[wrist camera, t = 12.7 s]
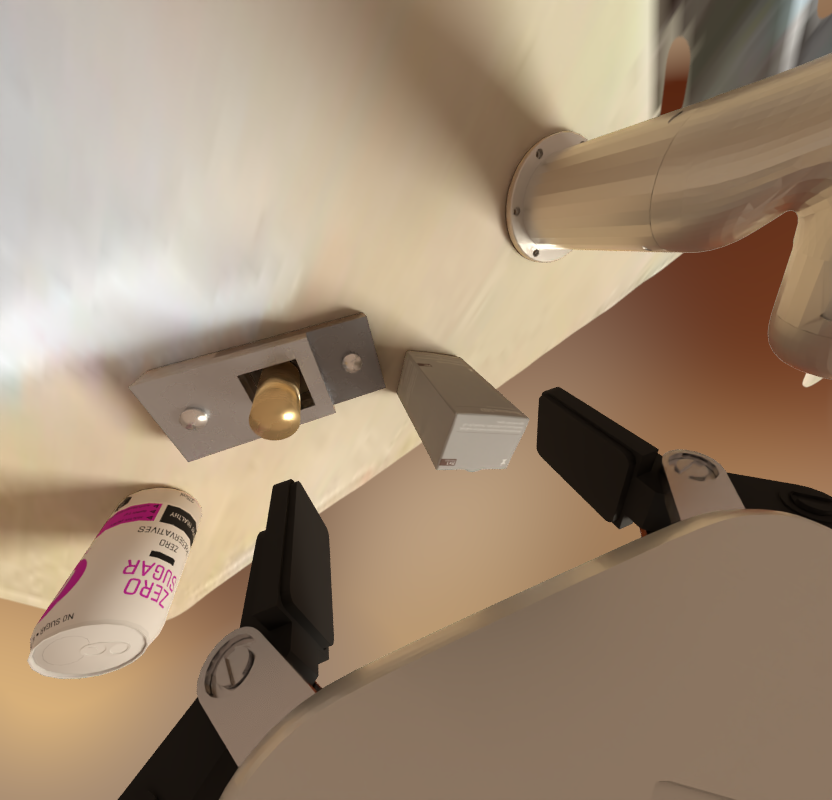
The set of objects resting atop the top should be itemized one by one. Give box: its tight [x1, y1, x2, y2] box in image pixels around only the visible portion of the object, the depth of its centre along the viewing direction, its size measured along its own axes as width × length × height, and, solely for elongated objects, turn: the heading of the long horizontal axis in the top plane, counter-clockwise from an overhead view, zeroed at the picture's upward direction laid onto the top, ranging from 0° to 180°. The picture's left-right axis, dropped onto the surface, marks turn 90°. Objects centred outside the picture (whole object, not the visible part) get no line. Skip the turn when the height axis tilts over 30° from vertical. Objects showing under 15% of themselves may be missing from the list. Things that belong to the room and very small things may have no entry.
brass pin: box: [249, 361, 300, 440], centre depth 29 cm, size 4×4×10 cm
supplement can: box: [28, 488, 202, 679], centre depth 30 cm, size 8×8×15 cm
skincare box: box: [397, 351, 529, 472], centre depth 33 cm, size 8×7×16 cm
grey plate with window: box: [128, 313, 386, 462], centre depth 31 cm, size 22×9×5 cm, turn 101°
